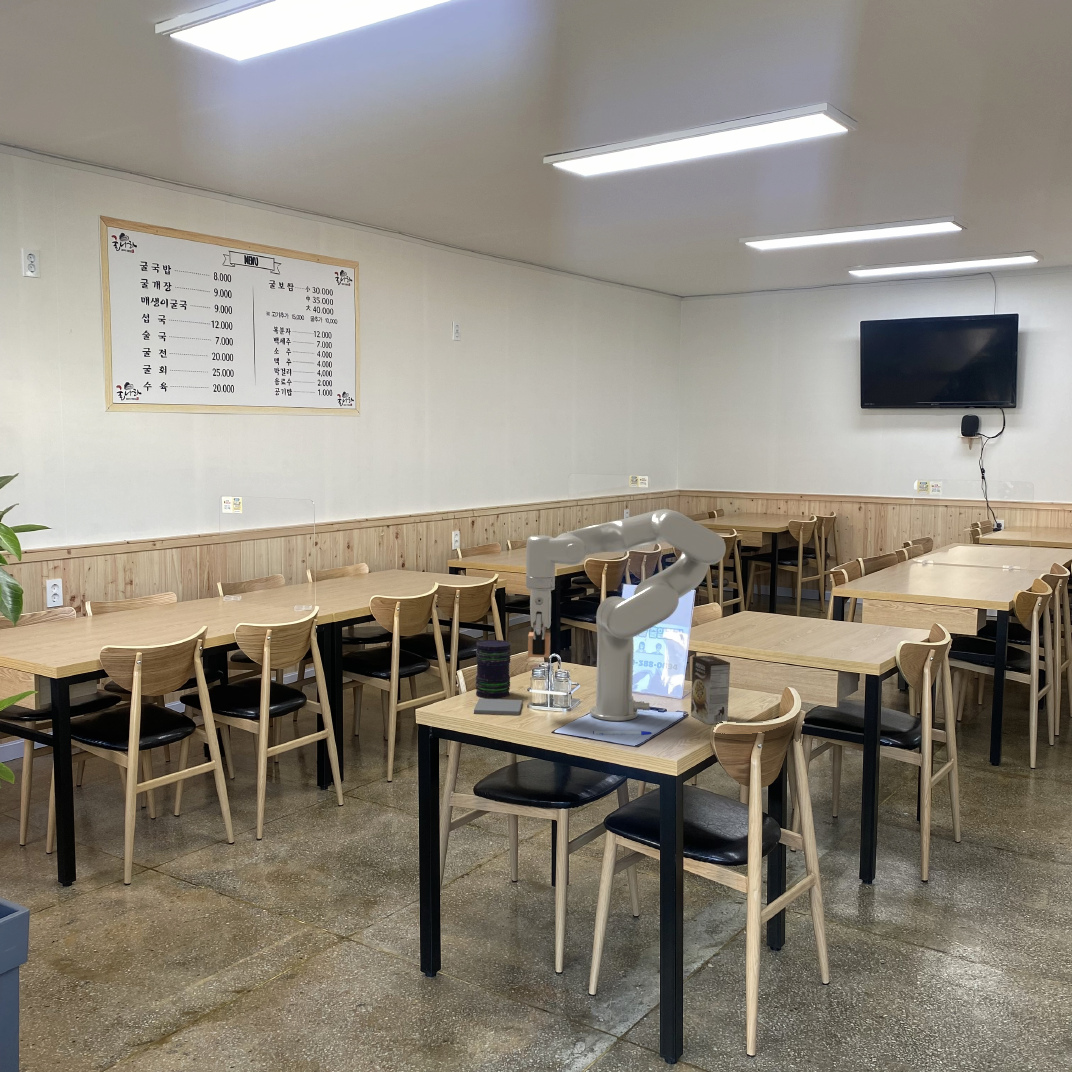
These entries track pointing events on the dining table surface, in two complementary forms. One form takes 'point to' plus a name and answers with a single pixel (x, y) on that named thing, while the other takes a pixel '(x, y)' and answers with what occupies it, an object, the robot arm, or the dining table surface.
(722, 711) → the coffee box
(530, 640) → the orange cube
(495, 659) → the storage jar
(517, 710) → the coaster mat
